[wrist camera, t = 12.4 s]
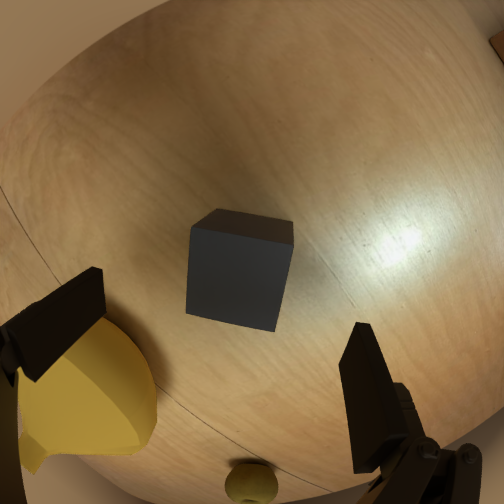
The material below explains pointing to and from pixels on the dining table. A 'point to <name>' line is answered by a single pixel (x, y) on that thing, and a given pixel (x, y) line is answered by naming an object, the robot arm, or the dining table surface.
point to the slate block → (238, 268)
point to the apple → (251, 484)
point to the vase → (89, 400)
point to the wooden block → (499, 44)
